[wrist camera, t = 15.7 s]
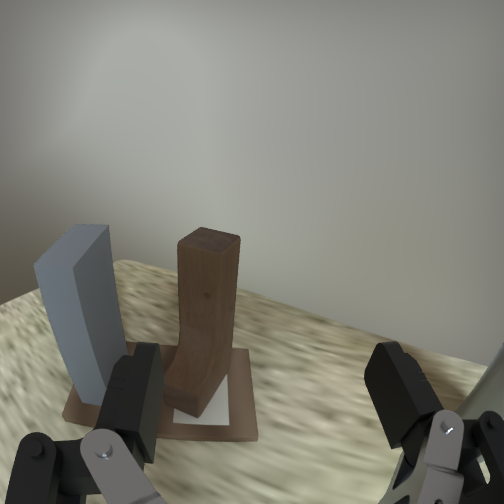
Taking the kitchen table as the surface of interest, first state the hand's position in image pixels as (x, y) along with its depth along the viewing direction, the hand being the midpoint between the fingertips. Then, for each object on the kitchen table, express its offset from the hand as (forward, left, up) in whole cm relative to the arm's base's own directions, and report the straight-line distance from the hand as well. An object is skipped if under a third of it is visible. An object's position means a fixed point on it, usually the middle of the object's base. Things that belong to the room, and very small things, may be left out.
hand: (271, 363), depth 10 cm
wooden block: (+4, -16, -21) cm, 27 cm away
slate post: (+15, -16, -21) cm, 31 cm away
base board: (+8, -16, -22) cm, 29 cm away
